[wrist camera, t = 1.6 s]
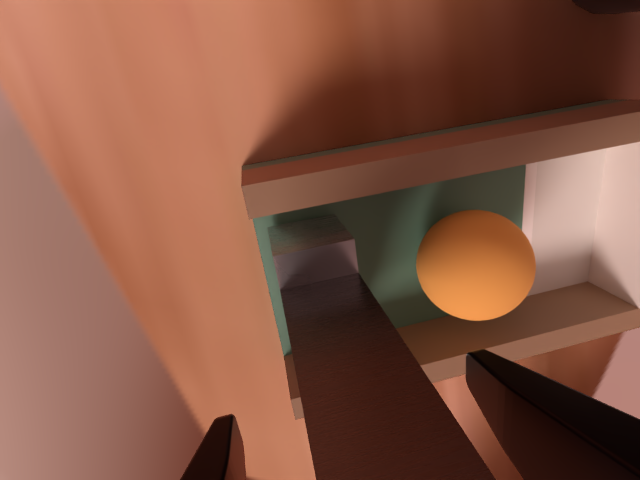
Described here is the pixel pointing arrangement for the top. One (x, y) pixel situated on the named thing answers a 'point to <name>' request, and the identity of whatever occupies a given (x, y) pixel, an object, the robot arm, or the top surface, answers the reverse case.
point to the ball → (476, 265)
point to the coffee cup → (609, 6)
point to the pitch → (488, 195)
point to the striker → (360, 369)
